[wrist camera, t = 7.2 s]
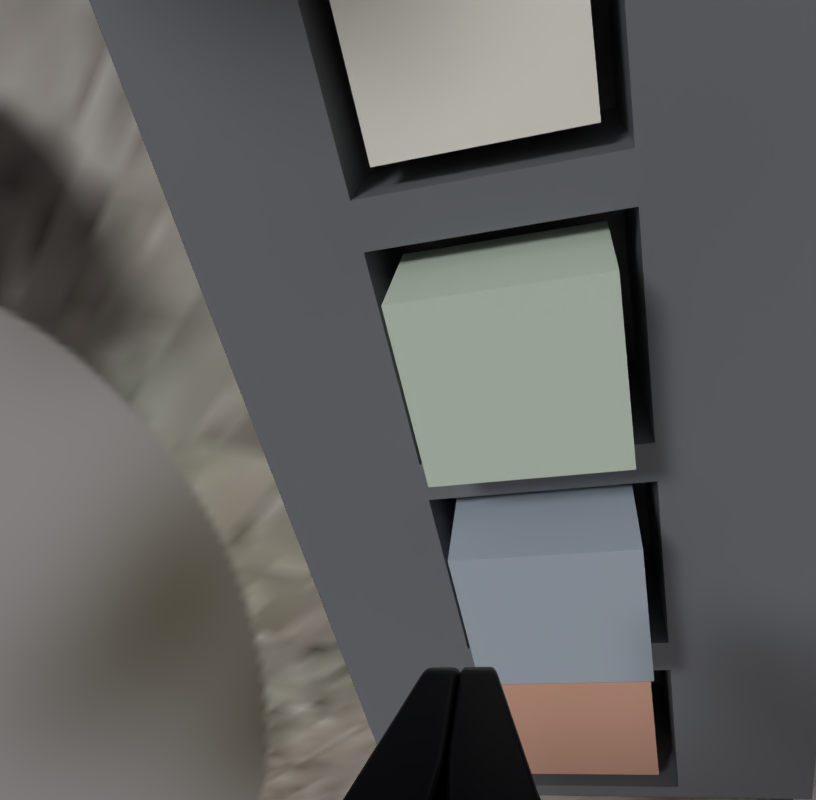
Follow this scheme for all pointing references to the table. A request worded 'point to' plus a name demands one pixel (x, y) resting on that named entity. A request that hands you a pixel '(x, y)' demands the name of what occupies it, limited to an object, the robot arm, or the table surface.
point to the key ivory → (465, 72)
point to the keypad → (643, 325)
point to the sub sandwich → (815, 797)
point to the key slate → (553, 585)
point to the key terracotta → (585, 727)
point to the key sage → (514, 356)
